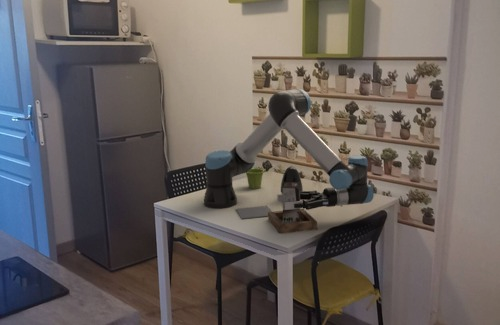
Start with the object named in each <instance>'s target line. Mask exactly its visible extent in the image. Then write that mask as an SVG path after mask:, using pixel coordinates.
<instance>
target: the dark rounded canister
mask: <svg viewBox="0 0 500 325" xmlns="http://www.w3.org/2000/svg"><path fill="white" fill-rule="evenodd" d="M285 182H300V191H304V190H303V187H304V186H303V182H302V178H301V175H300V173H299V171H298V169H297V168H296V167H295V166H293V165H290V166H288V167H287V168H286V169H285V170H284V172H283V174H282V179H281V185H280V194H283V185H284V183H285Z"/></svg>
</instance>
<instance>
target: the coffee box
mask: <svg viewBox="0 0 500 325" xmlns="http://www.w3.org/2000/svg"><path fill="white" fill-rule="evenodd" d="M294 201H301V199H300V182H285V183H284V185H283V201H282V211H283V219H282V223H283V224H284V223H293V222H301V218H300V209H301V208H298V209H288V210H285V202H294Z"/></svg>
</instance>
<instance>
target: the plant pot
mask: <svg viewBox="0 0 500 325" xmlns="http://www.w3.org/2000/svg"><path fill="white" fill-rule="evenodd" d="M264 171H265V170H264V169H261V168H252V169H251V170H249V171H248V172H246V173H245V174H246V177H247V184H248V188H249V189H252V190H256V189H261V188H262V181H263V176H264Z"/></svg>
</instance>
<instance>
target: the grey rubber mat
mask: <svg viewBox="0 0 500 325" xmlns="http://www.w3.org/2000/svg"><path fill="white" fill-rule="evenodd" d="M235 211H236V212H237V214H238V215H239V217H240V218H241V220H248V219H249V220H250V219H258V218H267V217H268V212H273V211H272V209H270V208H269V206H268V205H261V206H252V207H251V206H250V207H240V208H235Z"/></svg>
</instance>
